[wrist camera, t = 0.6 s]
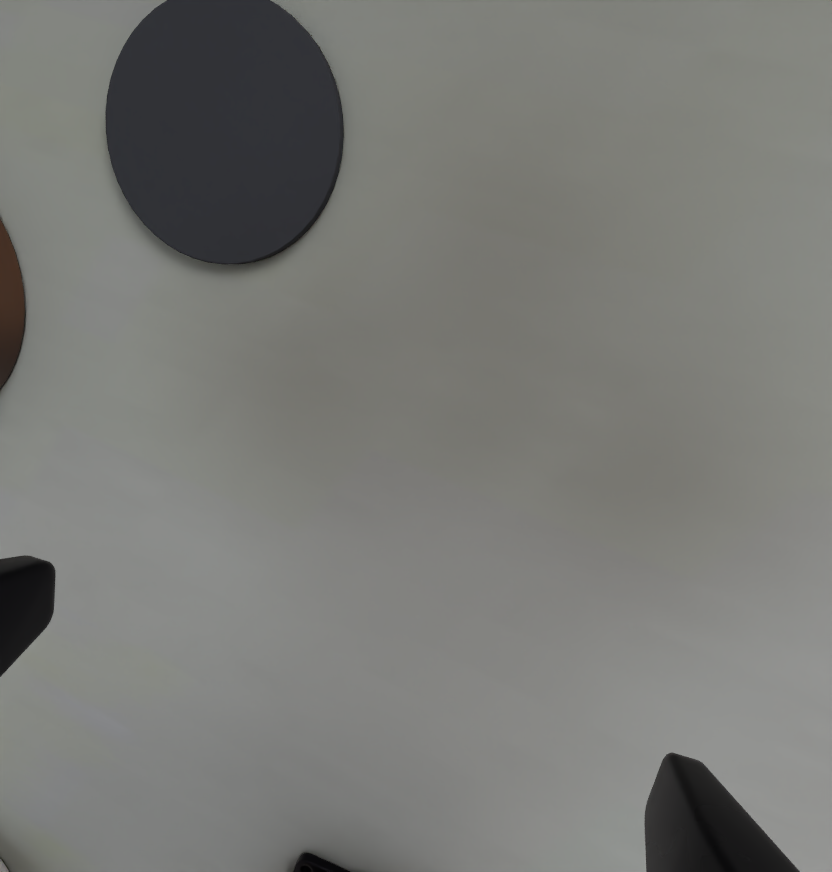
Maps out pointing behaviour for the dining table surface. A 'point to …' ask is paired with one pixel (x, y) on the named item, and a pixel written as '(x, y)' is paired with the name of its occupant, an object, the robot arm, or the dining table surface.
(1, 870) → the flower vase
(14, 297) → the platform
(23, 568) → the robot arm
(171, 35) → the coaster
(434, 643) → the dining table surface
